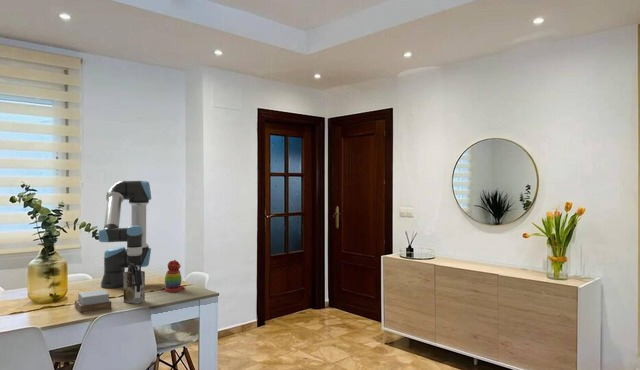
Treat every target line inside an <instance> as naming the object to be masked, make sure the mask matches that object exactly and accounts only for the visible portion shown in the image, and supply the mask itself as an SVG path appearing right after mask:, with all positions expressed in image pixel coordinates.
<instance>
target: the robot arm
mask: <svg viewBox="0 0 640 370" xmlns="http://www.w3.org/2000/svg"><path fill="white" fill-rule="evenodd" d="M151 191H152V190H151V185H150V182H149V181H146V180H120V181H117V182H116V183H114V184H113V185H112V186H111V187H110V188H109V189H108V190H107V192H106V196H105V199H106V201H107V202H106V210H105V215H104V216H105V218H104V224H103V227H102V228H100V229H99V230H98V241H99V242H100V243H116V242H118V243H122V242H126V247H125V246H116V247H111V248H107V249H106V250H105V251H104V252H103V253H104V255H103V259H104V261H103V263H104V265H103V269H104V270H103V272H104V273H103V276H102V278H101V282H100V287H101V288H103V289H116V288H124V275H123V273H124V272H126V269H127V271H132V273H133V274H134V273H136V276H135V274H134V279H135V285H134V286H135V298H141V285H142V277H141V271H142V268H146V267H148V266H149V265H150V259H151V252H152V248H151V247H149V244H148V243H147V205H148V204H149V203H150V200H152V192H151ZM124 200H127V201H128V204H130V205H131V218H130V219H131V220H130V221H131V222H130V223H131V225H129V226H127V227H120V222H121V221H120V220H121V211H122V210H121V209H122V204H123V202H124Z"/></svg>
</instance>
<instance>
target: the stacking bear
mask: <svg viewBox="0 0 640 370" xmlns="http://www.w3.org/2000/svg"><path fill="white" fill-rule="evenodd" d="M180 268H181V263H179V262H178V261H177V260H176V259H174V260H171V261H169V262H168V263H167V269H168V270H167V272H166V274H165V277H164V285H165V289H164V291H165V292H166V293H173V294H177V293H180V291H185V289H186V287H185V286H183V285H182V275H181V271H180Z"/></svg>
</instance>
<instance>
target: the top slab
mask: <svg viewBox="0 0 640 370" xmlns="http://www.w3.org/2000/svg"><path fill="white" fill-rule="evenodd" d="M77 296H78V297H77V298H78V299H77V300H79V302H80V303H81V304H82V306H84V305H90V304H97V303H104V302H109V300H110V294H109V292H108V291H107V290H105V288H103V289H97V290H88V291H81V292H78V295H77Z"/></svg>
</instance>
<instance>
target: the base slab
mask: <svg viewBox="0 0 640 370" xmlns="http://www.w3.org/2000/svg"><path fill="white" fill-rule="evenodd" d="M74 308H75V309H76V310H77V311H78V312H79V313H80V314H85V313H84V312H86V313H92V312H98V311H104V310H109V309H112V301H111V300H110V299H109V302H104V303H97V304H90V305H84V306H82V304H81V303H80V302H79V300H78V299H75V300H74ZM91 311H92V312H91Z"/></svg>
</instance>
